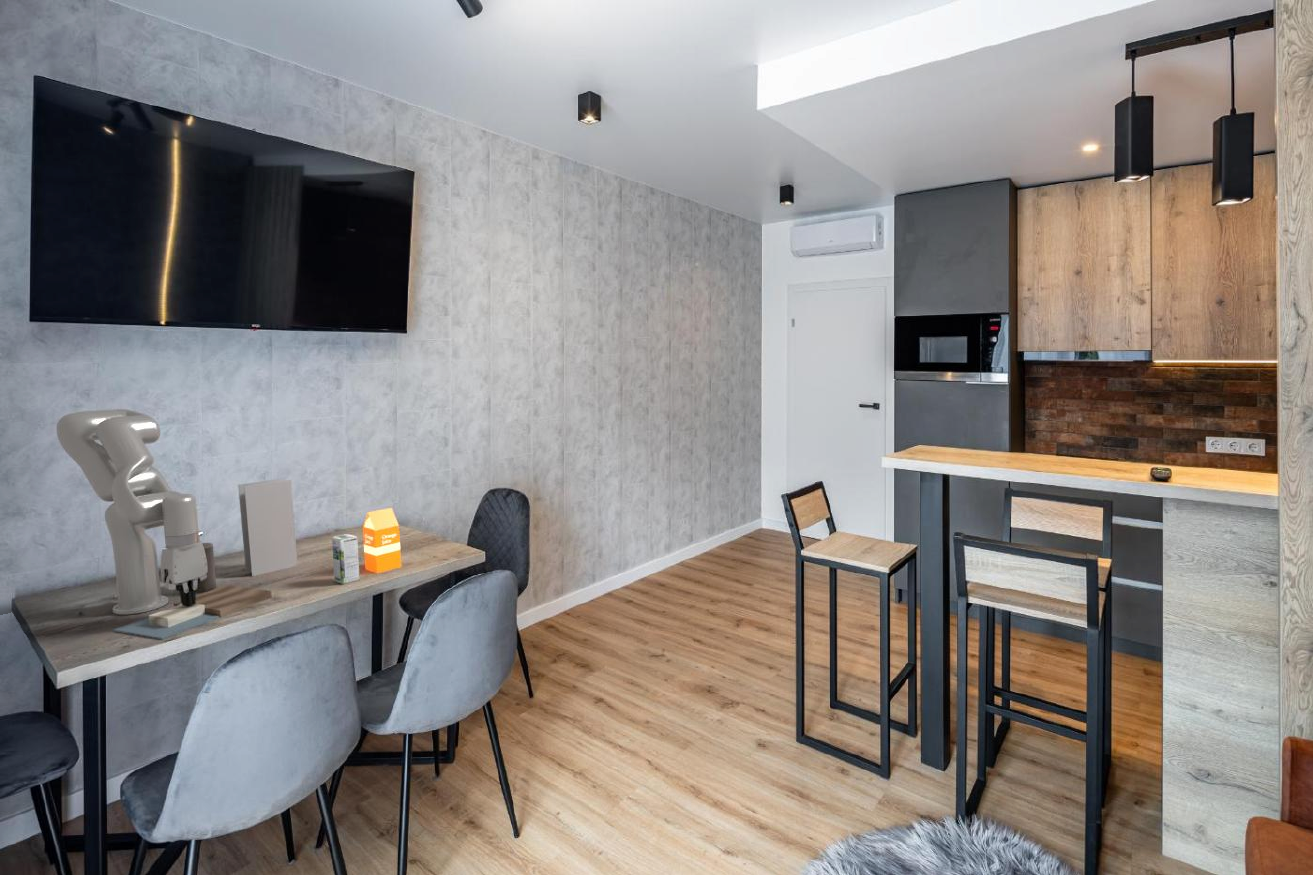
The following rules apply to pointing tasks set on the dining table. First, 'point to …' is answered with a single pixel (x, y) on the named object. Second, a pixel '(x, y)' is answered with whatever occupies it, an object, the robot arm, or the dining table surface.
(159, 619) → the tile
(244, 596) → the board
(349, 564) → the syrup box
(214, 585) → the pillar candle
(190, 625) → the mat
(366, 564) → the orange juice
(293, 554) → the tall grey block
